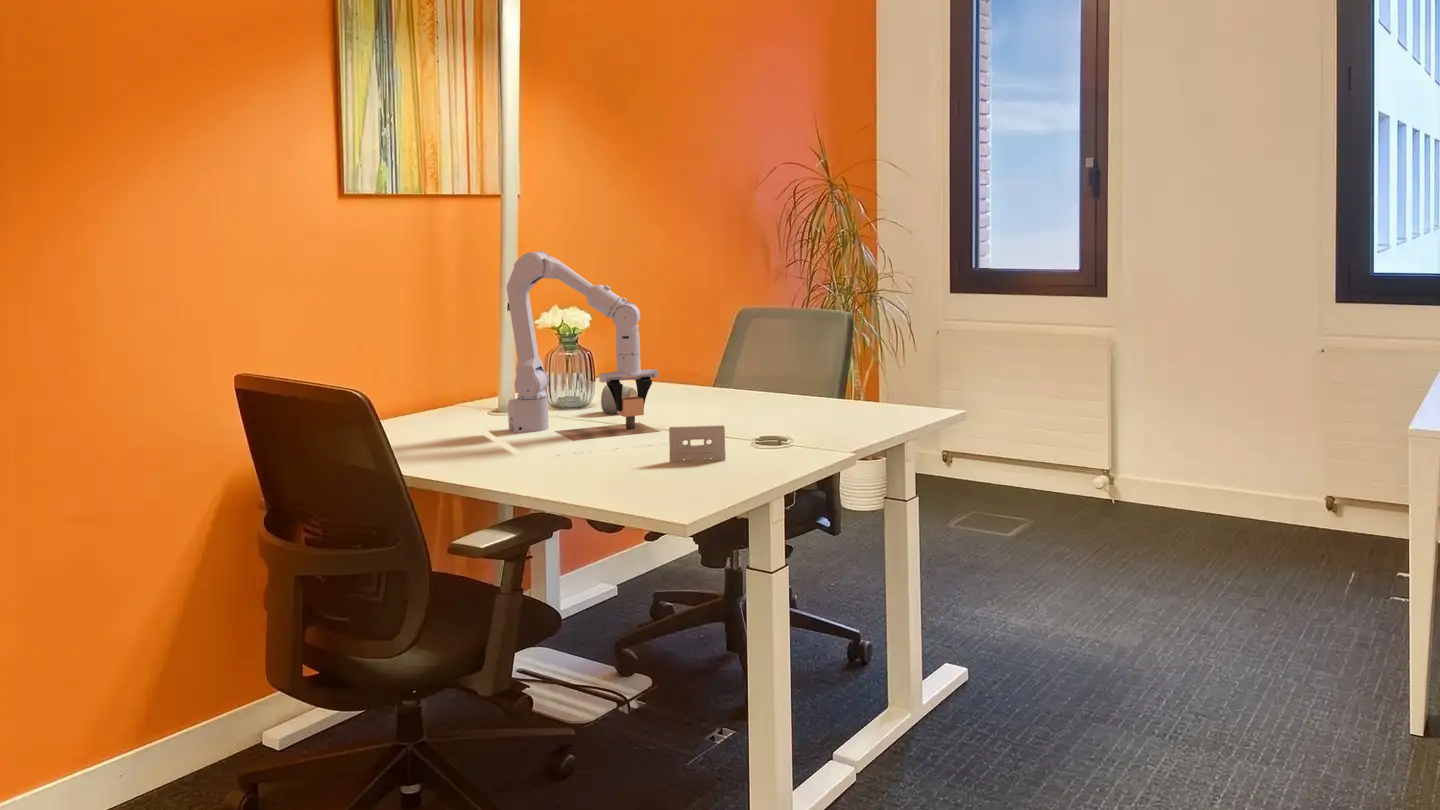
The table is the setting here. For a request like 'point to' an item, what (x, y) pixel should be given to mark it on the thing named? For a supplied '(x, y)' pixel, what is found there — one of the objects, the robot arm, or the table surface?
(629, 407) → the collar
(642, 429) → the plate
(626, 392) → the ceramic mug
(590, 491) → the table surface
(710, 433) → the cassette
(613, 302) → the robot arm
